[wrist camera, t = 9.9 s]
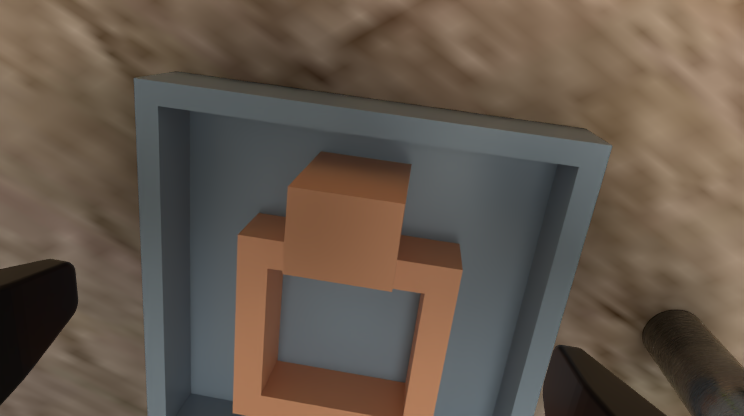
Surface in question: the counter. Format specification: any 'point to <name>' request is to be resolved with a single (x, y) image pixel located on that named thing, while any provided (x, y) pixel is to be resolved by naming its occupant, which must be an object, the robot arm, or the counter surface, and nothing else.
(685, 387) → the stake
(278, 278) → the tan rectangular frame
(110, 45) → the counter surface
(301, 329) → the tray
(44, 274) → the robot arm
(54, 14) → the counter surface
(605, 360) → the counter surface
